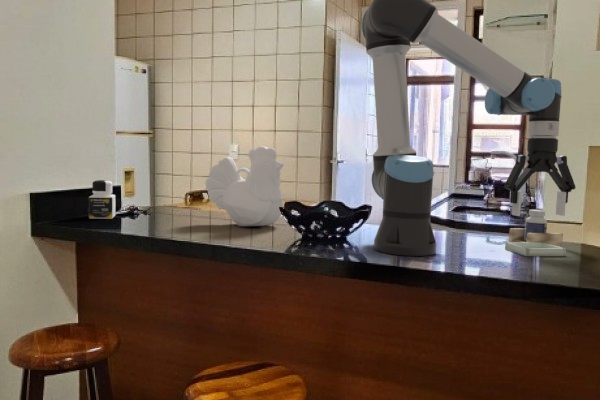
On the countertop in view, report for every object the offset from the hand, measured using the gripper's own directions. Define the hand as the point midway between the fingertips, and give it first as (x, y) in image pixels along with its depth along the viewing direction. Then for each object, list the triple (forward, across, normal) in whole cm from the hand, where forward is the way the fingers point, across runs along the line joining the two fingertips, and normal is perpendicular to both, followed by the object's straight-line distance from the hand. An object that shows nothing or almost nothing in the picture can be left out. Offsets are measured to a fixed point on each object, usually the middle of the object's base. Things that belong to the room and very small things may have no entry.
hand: (538, 215), depth 145 cm
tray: (+8, -8, -10) cm, 15 cm away
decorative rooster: (+7, -78, +35) cm, 85 cm away
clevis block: (+8, 0, 0) cm, 8 cm away
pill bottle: (+8, 0, 0) cm, 9 cm away
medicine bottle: (+6, -122, +50) cm, 133 cm away
